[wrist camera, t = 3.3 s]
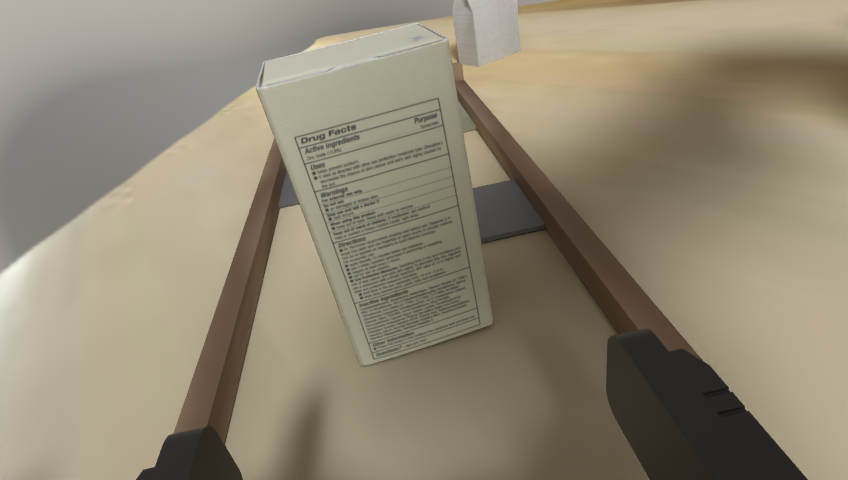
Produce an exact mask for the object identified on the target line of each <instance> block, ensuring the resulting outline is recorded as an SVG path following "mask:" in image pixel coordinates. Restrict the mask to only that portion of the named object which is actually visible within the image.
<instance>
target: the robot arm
mask: <svg viewBox="0 0 848 480" xmlns="http://www.w3.org/2000/svg"><path fill="white" fill-rule="evenodd" d="M606 391H607V397H608V401H609V404H610V407H611V410H612V412H613V415H614V417H615V419H616V421H617V422H618V424H619V426H620V428H621V429H622V431H623V433H624V435H625V436H626V438H627V440H628V442H629V443H630V445H631V447H632V449H633V451H634V452H635V454H636V456H637V458H638V459H639V461H640V463H641V465H642V466H643V468H644V470H645V472H646V473H647V475H648V477H649V479H650V480H808V479H807V478H806V477H805V476H804V475H803V474H802V472H801V471H800V470H799V469H798V468H797V467H796V465H795V464H794V463H793V462H792V461H791V460H790V458H789V457H788V456H787V455H786V454H785V453H784V452H783V450H782V449H781V448H780V447H779V446H778V445H777V443H776V442H775V441H774V440H773V439H772V438H771V436H770V435H769V434H768V433H767V432H766V431H765V429H764V428H763V427H762V426H761V425H760V424H759V422H758V421H757V420H756V419H755V418H754V417H753V415H752V414H751V413H750V412H749V411H746V410H745V406H744V405H743V404H742V403H741V402H740V400H739V399H738V398H737V397H736V396H735V395H734V393H733V392H730V391H729V389H728V386H727V385H726V384H725V383H724V382H723V381H722V379H721V378H720V377H719V376H718V375H717V374H716V372H715V371H714V370H713V369H712V368H711V367H710V365H708V364H707V363H705V362H703V361H702V360H700V359H699V358H697V357H696V356H694V355H692V354H691V353H689V352H688V351H686V350H684V349H683V348H682V349H678V350H673V351H668V350H667V349H666V347H665V346H664V345H663V344H662V342H661V341H660V340H659V338H658V337H657V336H656V335H655V334H654V332H652V331H651V330H650V329H647V328H645V329H640V330H636V331H632V332H627V333H623V334H618V335H614V336H610V337H609V339H608V345H607V376H606ZM136 480H243V479H242V475H241V472H240V470H239V468H238V467H237V465H236V463H235V462H234V460H233V458H232V457H231V455H230V453H229V452H228V450H227V448H226V446H225V445H224V443H223V441H222V440H221V438H220V436H219V435H218V433H217V431H216V430H215V429H214V428H213V427H212V426H206V427H201V428H197V429H192V430H188V431H183V432H179V433H175V434H171V435H169V436H168V437H167V438H166V440H165V441H164V443H163V446H162V449H161V452H160V454H159V457H158V460H157V463H156V466H155V467H153V468H149V469H145V470H143V471H142V472H141V474H140V475H139V476H138V478H137V479H136Z"/></svg>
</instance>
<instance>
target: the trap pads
mask: <svg viewBox="0 0 848 480" xmlns="http://www.w3.org/2000/svg"><path fill="white" fill-rule="evenodd" d="M473 195H474V202H475V208H476V214H477V221H478V226H479V233H480V239H481V243H483V242H488V241H492V240H497V239H501V238H506V237H510V236H515V235H519V234H524V233H528V232H533V231H537V230H542V229H546V224H545V223H544V221H543V220H542V218H541V217H540V215H539V214H538V213H537V211H536V210H535V208H534V207H533V206H532V204H531V203H530V201H529V200H528V199H527V197H526V196H525V194H524V193H523V191H522V190H521V189H520V187H519V186H518V184H517V183H516V182H515V180H510V181H505V182H500V183H496V184H491V185H487V186H482V187H477V188H473ZM296 204H299V201H298V199H297V196H296V193H295V191H294V188H293V185H292V183H291V180H290V177H289V175H288V172H287V171H286V175H285V179H284V183H283V187H282V191H281V195H280V199H279V203H278V205H279V208H282V207H287V206H291V205H296Z"/></svg>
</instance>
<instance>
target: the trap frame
mask: <svg viewBox="0 0 848 480" xmlns="http://www.w3.org/2000/svg"><path fill="white" fill-rule="evenodd" d="M452 65H453V72H454V79H455V85H456V91H457V98H458V104H459V110H460V116H461V122H462V128H463V132H466V131H471V130H476V129H477V131H478V132H479V134H480V135H481V136H482V138H483V139H484V141H485V142H486V144H487V145H488V147H489V148H490V149H491V151H492V152H493V154H494V155H495V157H496V158H497V159H498V161H499V162H500V164H501V165H502V167H503V168H504V169H505V171H506V172H507V174H508V175H509V177H510V178H511V180H515V182H516V183H517V184H518V186H519V187H520V189H521V190H522V191H523V193H524V194H525V196H526V197H527V199H528V200H529V201H530V203H531V204H532V206H533V207H534V208H535V210H536V211H537V213H538V214H539V215H540V217H541V218H542V220H543V221H544V223H545V224H546V230H547V231H548V233H549V234H550V235H551V237H552V238H553V240H554V241H555V243H556V244H557V245H558V247H559V248H560V250H561V251H562V253H563V254H564V256H565V257H566V258H567V260H568V261H569V263H570V264H571V266H572V267H573V268H574V270H575V271H576V273H577V274H578V276H579V277H580V278H581V280H582V281H583V283H584V284H585V286H586V287H587V288H588V290H589V291H590V293H591V294H592V296H593V297H594V299H595V300H596V301H597V303H598V304H599V306H600V307H601V309H602V310H603V311H604V313H605V314H606V316H607V317H608V319H609V320H610V321H611V323H612V324H613V326H614V327H615V329H616V330H617V332H618V333H619V334H623V333H627V332H632V331H636V330H640V329H645V328H647V329H650V330H651V331H652V332H654V334H655V335H656V336H657V337H658V338H659V340H660V341H661V342H662V344H663V345H664V346H665V347H666V349H667V350H668V351H673V350H678V349H682V348H683V349H684V350H686V351H688V352H689V353H691V354H692V355H694V356H696V357H697V358H699V359H700V360H702V359H701V358H700V357H699V356H698V354H697V353H696V352H695V351H694V350H693V349H692V347H691V346H690V345H689V344H688V343H687V342H686V340H685V339H684V338H683V337H682V336H681V334H680V333H679V332H678V331H677V330H676V329H675V327H674V326H673V325H672V324H671V323H670V322H669V320H668V319H667V318H666V317H665V316H664V315H663V313H662V312H661V311H660V310H659V309H658V307H657V306H656V305H655V304H654V303H653V302H652V300H651V299H650V298H649V297H648V296H647V295H646V293H645V292H644V291H643V290H642V289H641V287H640V286H639V285H638V284H637V283H636V282H635V280H634V279H633V278H632V277H631V276H630V275H629V273H628V272H627V271H626V270H625V269H624V267H623V266H622V265H621V264H620V263H619V262H618V260H617V259H616V258H615V257H614V256H613V255H612V253H611V252H610V251H609V250H608V249H607V248H606V246H605V245H604V244H603V243H602V242H601V240H600V239H599V238H598V237H597V236H596V235H595V233H594V232H593V231H592V230H591V229H590V228H589V226H588V225H587V224H586V223H585V222H584V220H583V219H582V218H581V217H580V216H579V215H578V213H577V212H576V211H575V210H574V209H573V208H572V206H571V205H570V204H569V203H568V202H567V201H566V199H565V198H564V197H563V196H562V195H561V193H560V192H559V191H558V190H557V189H556V188H555V186H554V185H553V184H552V183H551V182H550V181H549V179H548V178H547V177H546V176H545V175H544V173H543V172H542V171H541V170H540V169H539V168H538V166H537V165H536V164H535V163H534V162H533V161H532V159H531V158H530V157H529V156H528V155H527V153H526V152H525V151H524V150H523V149H522V148H521V146H520V145H519V144H518V143H517V142H516V141H515V139H514V138H513V137H512V136H511V135H510V134H509V132H508V131H507V130H506V129H505V128H504V126H503V125H502V124H501V123H500V122H499V121H498V119H497V118H496V117H495V116H494V115H493V114H492V112H491V111H490V110H489V109H488V108H487V106H486V105H485V104H484V103H483V102H482V101H481V99H480V98H479V97H478V96H477V95H476V94H475V92H474V91H473V90H472V89H471V88H470V87H469V85H468V84H467V83H466V82H465V81H464V77H463V69H462V64H461V63H460V62H457V63H452ZM286 171H287V169H286V167H285V164H284V162H283V159H282V156H281V154H280V151H279V148H278V146H277V143H276V140H275V138H274V141H273V144H272V147H271V150H270V153H269V156H268V159H267V161H266V164H265V167H264V170H263V173H262V176H261V179H260V182H259V185H258V188H257V191H256V194H255V197H254V200H253V202H252V205H251V208H250V211H249V214H248V217H247V220H246V223H245V226H244V229H243V232H242V235H241V238H240V241H239V244H238V246H237V249H236V252H235V255H234V258H233V261H232V264H231V267H230V270H229V273H228V276H227V279H226V282H225V285H224V287H223V290H222V293H221V296H220V299H219V302H218V305H217V308H216V311H215V314H214V317H213V320H212V323H211V326H210V329H209V331H208V334H207V337H206V340H205V343H204V346H203V349H202V352H201V355H200V358H199V361H198V364H197V367H196V370H195V372H194V375H193V378H192V381H191V384H190V387H189V390H188V393H187V396H186V399H185V402H184V405H183V408H182V411H181V413H180V416H179V419H178V422H177V425H176V428H175V431H174V434H175V433H179V432H183V431H188V430H192V429H197V428H201V427H206V426H212V427H213V428H214V429H215V430H216V431H217V433H218V435H219V436H220V438H221V440H222V441H223V443H224V444H225V439H226V435H227V431H228V427H229V422H230V418H231V414H232V409H233V405H234V401H235V397H236V392H237V388H238V384H239V380H240V375H241V371H242V367H243V362H244V358H245V354H246V350H247V345H248V341H249V337H250V333H251V328H252V324H253V320H254V315H255V311H256V307H257V303H258V298H259V294H260V290H261V285H262V281H263V277H264V273H265V268H266V264H267V260H268V256H269V251H270V247H271V243H272V238H273V234H274V230H275V226H276V221H277V217H278V213H279V209H280V208H279V205H278V203H279V199H280V195H281V191H282V187H283V183H284V179H285V175H286ZM702 361H703V360H702Z"/></svg>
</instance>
